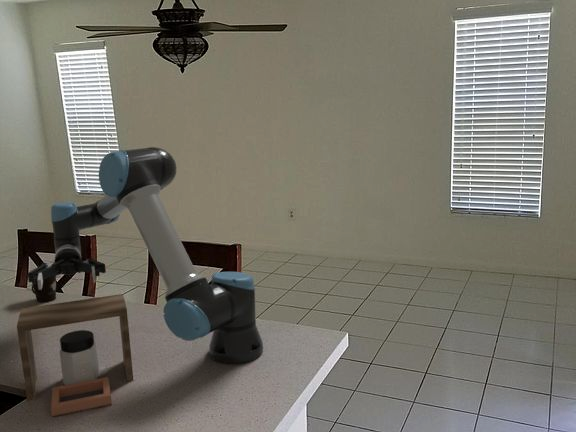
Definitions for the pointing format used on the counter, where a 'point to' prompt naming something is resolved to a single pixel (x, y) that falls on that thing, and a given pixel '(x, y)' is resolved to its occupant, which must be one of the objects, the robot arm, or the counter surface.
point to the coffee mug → (45, 290)
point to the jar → (78, 357)
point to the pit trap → (80, 396)
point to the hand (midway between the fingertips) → (67, 281)
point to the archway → (68, 315)
